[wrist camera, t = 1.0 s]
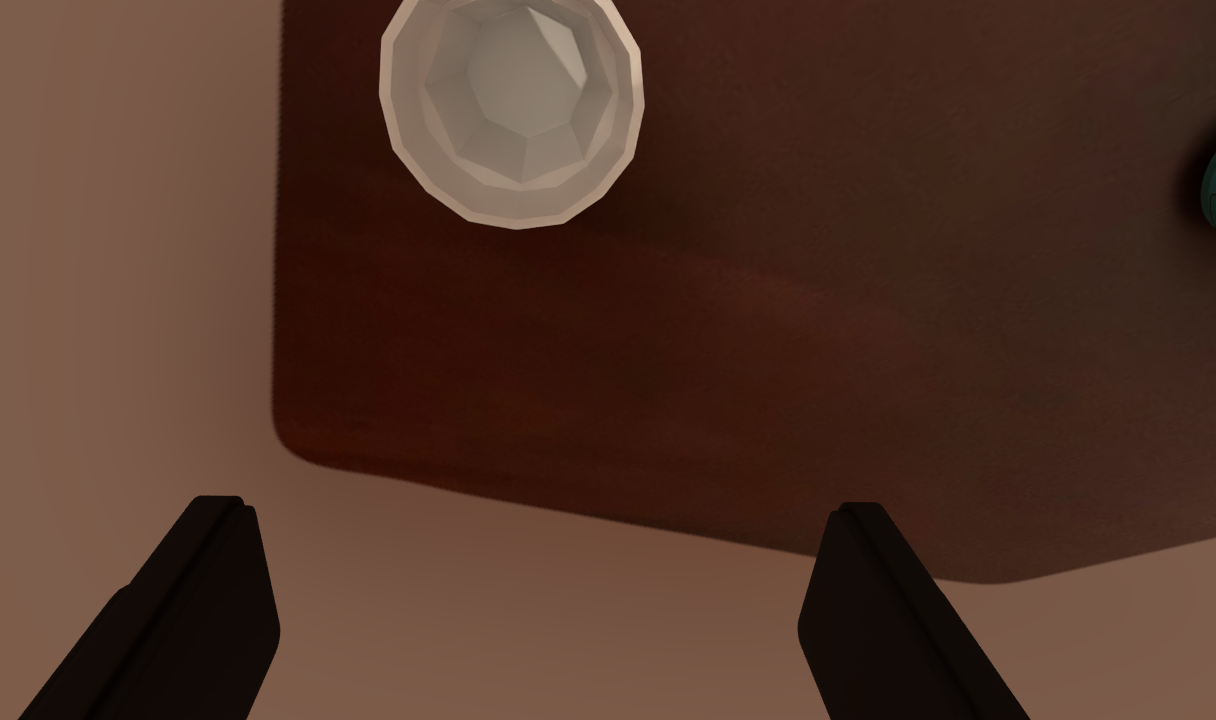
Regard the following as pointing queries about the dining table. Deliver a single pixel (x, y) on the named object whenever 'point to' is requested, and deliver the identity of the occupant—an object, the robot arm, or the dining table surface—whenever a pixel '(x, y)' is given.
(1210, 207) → the beverage bottle
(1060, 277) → the dining table surface
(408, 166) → the cup
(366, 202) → the dining table surface
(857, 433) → the dining table surface
